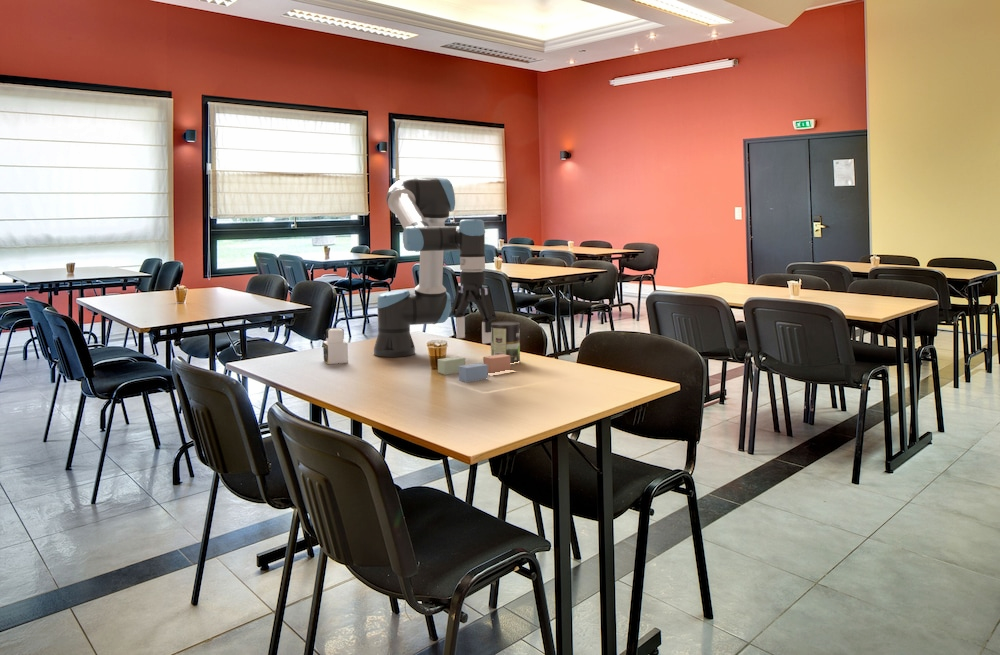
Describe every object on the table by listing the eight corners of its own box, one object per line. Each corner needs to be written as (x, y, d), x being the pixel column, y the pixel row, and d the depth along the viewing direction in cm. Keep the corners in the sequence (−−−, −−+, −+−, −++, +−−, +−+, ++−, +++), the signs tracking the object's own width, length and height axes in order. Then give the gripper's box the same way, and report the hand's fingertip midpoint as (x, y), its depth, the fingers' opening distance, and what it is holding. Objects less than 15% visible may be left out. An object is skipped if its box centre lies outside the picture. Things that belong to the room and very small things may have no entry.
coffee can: (520, 360, 259) (520, 321, 257) (520, 366, 249) (520, 325, 247) (490, 360, 260) (490, 321, 257) (489, 366, 249) (489, 325, 247)
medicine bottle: (323, 361, 259) (322, 327, 258) (343, 359, 262) (342, 326, 261) (327, 364, 253) (326, 330, 251) (348, 362, 256) (347, 328, 254)
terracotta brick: (490, 374, 234) (490, 358, 234) (483, 372, 238) (483, 356, 237) (510, 370, 239) (510, 355, 238) (502, 368, 242) (502, 354, 242)
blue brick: (466, 384, 223) (465, 368, 222) (458, 382, 226) (458, 366, 225) (487, 381, 227) (487, 365, 227) (480, 378, 231) (480, 363, 230)
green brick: (444, 376, 234) (444, 361, 233) (437, 374, 237) (437, 359, 236) (465, 373, 239) (465, 358, 238) (458, 371, 242) (458, 356, 241)
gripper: (439, 269, 229) (440, 336, 232) (487, 273, 210) (487, 346, 212) (459, 268, 234) (460, 334, 237) (507, 272, 214) (508, 344, 217)
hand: (473, 340), depth 225 cm, fingers open, 13 cm apart
